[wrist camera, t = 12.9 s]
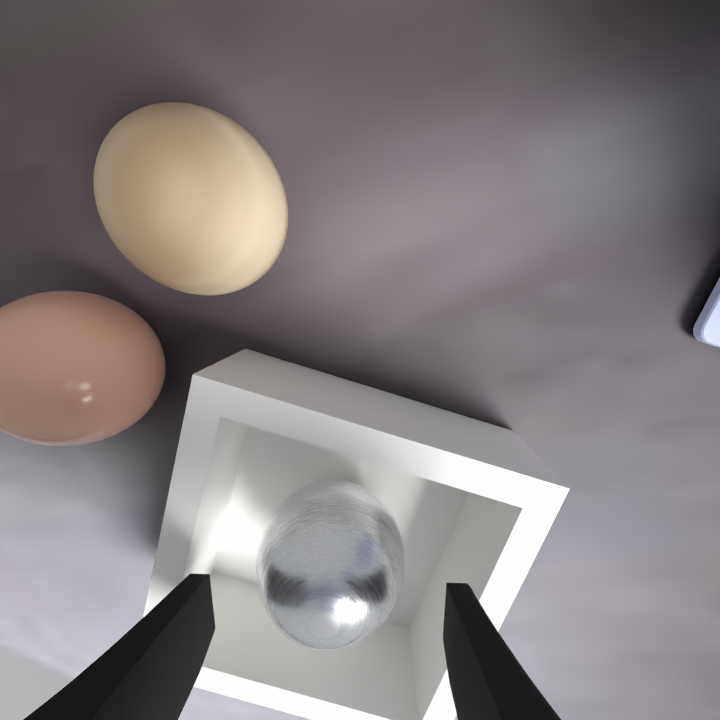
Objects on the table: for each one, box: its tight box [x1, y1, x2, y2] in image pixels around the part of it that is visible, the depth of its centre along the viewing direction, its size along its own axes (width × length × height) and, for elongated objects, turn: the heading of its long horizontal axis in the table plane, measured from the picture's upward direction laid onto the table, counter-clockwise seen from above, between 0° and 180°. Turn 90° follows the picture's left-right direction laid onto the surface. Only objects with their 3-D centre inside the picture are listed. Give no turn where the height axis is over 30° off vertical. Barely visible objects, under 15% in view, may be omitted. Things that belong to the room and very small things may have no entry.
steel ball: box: [256, 479, 404, 651], centre depth 12 cm, size 5×5×5 cm
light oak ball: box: [93, 102, 289, 295], centre depth 10 cm, size 5×5×5 cm
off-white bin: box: [143, 349, 569, 720], centre depth 13 cm, size 11×11×4 cm
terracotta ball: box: [0, 291, 166, 446], centre depth 11 cm, size 5×5×5 cm
